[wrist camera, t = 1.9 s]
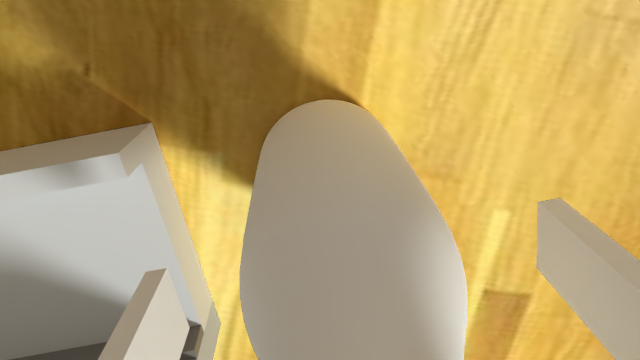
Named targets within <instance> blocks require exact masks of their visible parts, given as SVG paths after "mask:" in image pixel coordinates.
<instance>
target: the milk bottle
mask: <svg viewBox="0 0 640 360" xmlns="http://www.w3.org/2000/svg"><path fill="white" fill-rule="evenodd" d="M240 299H241V307H242V313H243V318H244V322H245V326H246V330H247V333H248V336H249V339H250V342H251V344H252V347H253V349H254V351H255V353H256V355H257V357H258V359H259V360H464V345H465V335H466V326H467V314H468V295H467V284H466V277H465V272H464V268H463V263H462V259H461V256H460V253H459V250H458V248H457V245H456V243H455V240H454V238H453V235H452V232H451V230H450V229H449V227H448V225H447V223H446V221H445V219H444V218H443V216H442V214H441V212H440V211H439V209H438V207H437V205H436V204H435V202H434V200H433V199H432V197H431V196H430V194H429V193H428V191H427V189H426V188H425V186H424V185H423V183H422V182H421V180H420V179H419V177H418V176H417V174H416V173H415V171H414V170H413V168H412V167H411V165H410V164H409V162H408V161H407V159H406V158H405V156H404V155H403V153H402V152H401V150H400V149H399V148H398V146H397V145H396V143H395V142H394V140H393V139H392V137H391V136H390V134H389V133H388V132H387V130H386V129H385V128H384V126H383V125H382V124H381V123H380V122H379V121H378V119H376V118H375V117H374V116H373V115H372V114H371V113H369V112H368V111H367V110H365V109H363V108H362V107H359V106H357V105H355V104H352V103H350V102H346V101H341V100H330V99H328V100H317V101H312V102H308V103H305V104H303V105H300V106H298V107H296V108H294V109H292V110H291V111H289V112H288V113H286V114H285V115H284V116H283V117H281V118H280V119H279V120H278V121H277V122H276V124H275V125H274V126H273V127H272V129H271V130H270V132H269V133H268V135H267V137H266V139H265V141H264V144H263V147H262V150H261V153H260V157H259V162H258V167H257V171H256V176H255V181H254V186H253V191H252V196H251V201H250V206H249V212H248V217H247V223H246V228H245V233H244V240H243V248H242V257H241V265H240Z"/></svg>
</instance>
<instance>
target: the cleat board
mask: <svg viewBox="0 0 640 360" xmlns="http://www.w3.org/2000/svg"><path fill="white" fill-rule="evenodd" d="M164 268H167V270H168V272H169V275H170V278H171V280H172V283H173V285H174V288H175V291H176V293H177V296H178V299H179V301H180V304H181V306H182V309H183V312H184V314H185V317H186V320H187V322H188V325H189V327H190V329H189V332H188V335H187V338H186V341H185V344H184V347H183V350H182V353H181V357H180V360H213V356H214V352H215V347H216V343H217V338H218V333H219V329H220V324H221V323H220V320H219V318H218V315H217V312H216V309H215V306H214V303H213V300H212V297H211V294H210V291H209V288H208V285H207V282H206V279H205V277H204V274H203V271H202V268H201V265H200V262H199V259H198V256H197V253H196V250H195V247H194V244H193V241H192V239H191V236H190V233H189V230H188V227H187V224H186V221H185V218H184V215H183V212H182V209H181V206H180V203H179V201H178V198H177V195H176V192H175V189H174V186H173V183H172V180H171V177H170V174H169V171H168V168H167V165H166V162H165V160H164V157H163V154H162V151H161V148H160V145H159V142H158V139H157V136H156V133H155V130H154V127H153V124H152V123H146V124H141V125H136V126H131V127H125V128H120V129H115V130H110V131H104V132H99V133H94V134H89V135H83V136H78V137H73V138H68V139H62V140H57V141H52V142H47V143H41V144H36V145H31V146H26V147H20V148H15V149H10V150H5V151H0V360H98V358H99V357H100V355H101V353H102V351H103V349H104V347H105V346H106V344H107V342H108V340H109V338H110V336H111V335H112V333H113V331H114V329H115V327H116V325H117V324H118V322H119V320H120V318H121V316H122V314H123V313H124V311H125V309H126V307H127V305H128V303H129V301H130V300H131V298H132V296H133V294H134V292H135V290H136V289H137V287H138V285H139V283H140V281H141V279H142V278H143V276H144V274H145V272H147V271H152V270H158V269H164Z"/></svg>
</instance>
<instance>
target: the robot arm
mask: <svg viewBox="0 0 640 360" xmlns="http://www.w3.org/2000/svg"><path fill="white" fill-rule="evenodd" d="M537 269H538V270H539V271H540V272H541V274H542V275H543V276H544V277H545V278H546V279H547V281H548V282H549V283H550V284H551V285H552V286H553V287H554V289H555V290H556V291H557V292H558V293H559V294H560V296H561V297H562V298H563V299H564V300H565V301H566V303H567V304H568V305H569V306H570V307H571V308H572V310H573V311H574V312H575V313H576V314H577V315H578V317H579V318H580V319H581V320H582V321H583V322H584V324H585V325H586V326H587V327H588V328H589V329H590V330H591V332H592V333H593V334H594V335H595V336H596V337H597V339H598V340H599V341H600V342H601V343H602V344H603V346H604V347H605V348H606V349H607V350H608V351H609V353H610V354H611V355H612V356H613V357H614V358H615V360H640V260H638V259H637V258H636V257H634V256H633V255H632V254H631V253H629V252H628V251H627V250H626V249H624V248H623V247H622V246H621V245H619V244H618V243H617V242H615V241H614V240H613V239H612V238H610V237H609V236H608V235H607V234H605V233H604V232H603V231H602V230H600V229H599V228H598V227H596V226H595V225H594V224H593V223H591V222H590V221H589V220H588V219H586V218H585V217H584V216H583V215H581V214H580V213H579V212H577V211H576V210H575V209H574V208H572V207H571V206H570V205H569V204H567V203H566V202H565V201H564V200H562V199H561V198H557V199H551V200H546V201H540V202H538V225H537ZM189 329H190V327H189V325H188V322H187V320H186V317H185V314H184V312H183V309H182V306H181V304H180V301H179V299H178V296H177V293H176V291H175V288H174V285H173V283H172V280H171V278H170V275H169V272H168V270H167V268H164V269H158V270H152V271H147V272H145V274H144V276H143V278H142V279H141V281H140V283H139V285H138V287H137V289H136V290H135V292H134V294H133V296H132V298H131V300H130V301H129V303H128V305H127V307H126V309H125V311H124V313H123V314H122V316H121V318H120V320H119V322H118V324H117V325H116V327H115V329H114V331H113V333H112V335H111V336H110V338H109V340H108V342H107V344H106V346H105V347H104V349H103V351H102V353H101V355H100V357H99V358H98V360H180V357H181V353H182V350H183V347H184V344H185V341H186V338H187V335H188V332H189Z"/></svg>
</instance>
